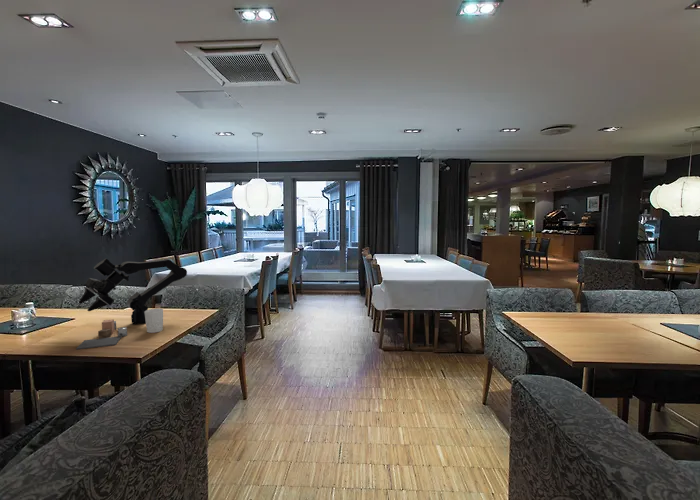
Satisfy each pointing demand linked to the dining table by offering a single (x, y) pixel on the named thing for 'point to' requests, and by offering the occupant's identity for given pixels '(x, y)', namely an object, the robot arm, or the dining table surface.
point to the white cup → (154, 320)
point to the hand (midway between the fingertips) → (83, 307)
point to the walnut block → (104, 333)
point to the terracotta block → (108, 325)
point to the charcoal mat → (99, 342)
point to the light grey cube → (122, 331)
